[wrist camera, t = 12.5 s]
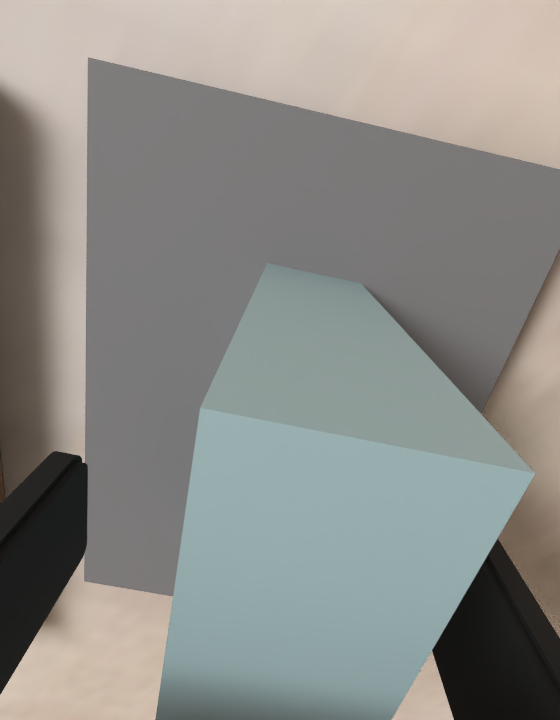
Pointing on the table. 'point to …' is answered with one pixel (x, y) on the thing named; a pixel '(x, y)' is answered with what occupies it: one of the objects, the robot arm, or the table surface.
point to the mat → (248, 260)
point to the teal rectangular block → (326, 513)
